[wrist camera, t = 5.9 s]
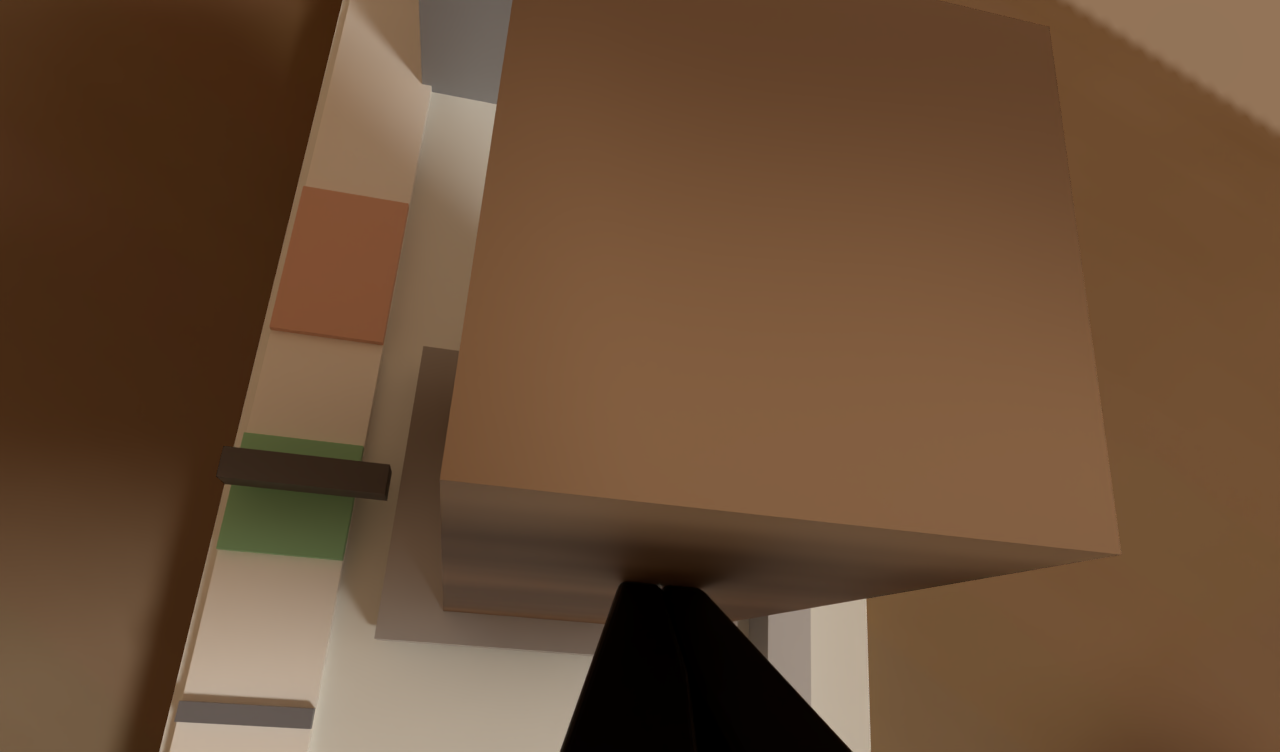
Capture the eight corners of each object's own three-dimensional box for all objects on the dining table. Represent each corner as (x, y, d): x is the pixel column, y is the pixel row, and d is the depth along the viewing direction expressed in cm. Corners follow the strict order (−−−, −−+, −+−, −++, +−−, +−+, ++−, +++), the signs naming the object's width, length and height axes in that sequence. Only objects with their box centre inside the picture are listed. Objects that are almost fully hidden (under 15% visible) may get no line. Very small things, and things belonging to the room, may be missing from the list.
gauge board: (849, 1123, 14) (1197, 1514, 8) (87, 1147, 12) (-344, 1723, 5) (828, 26, 23) (986, -240, 16) (375, -76, 20) (342, -434, 14)
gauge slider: (722, 665, 15) (1279, 655, 5) (198, 626, 13) (-531, 494, 3) (729, 402, 17) (1152, 4, 7) (266, 339, 15) (-80, -305, 5)
